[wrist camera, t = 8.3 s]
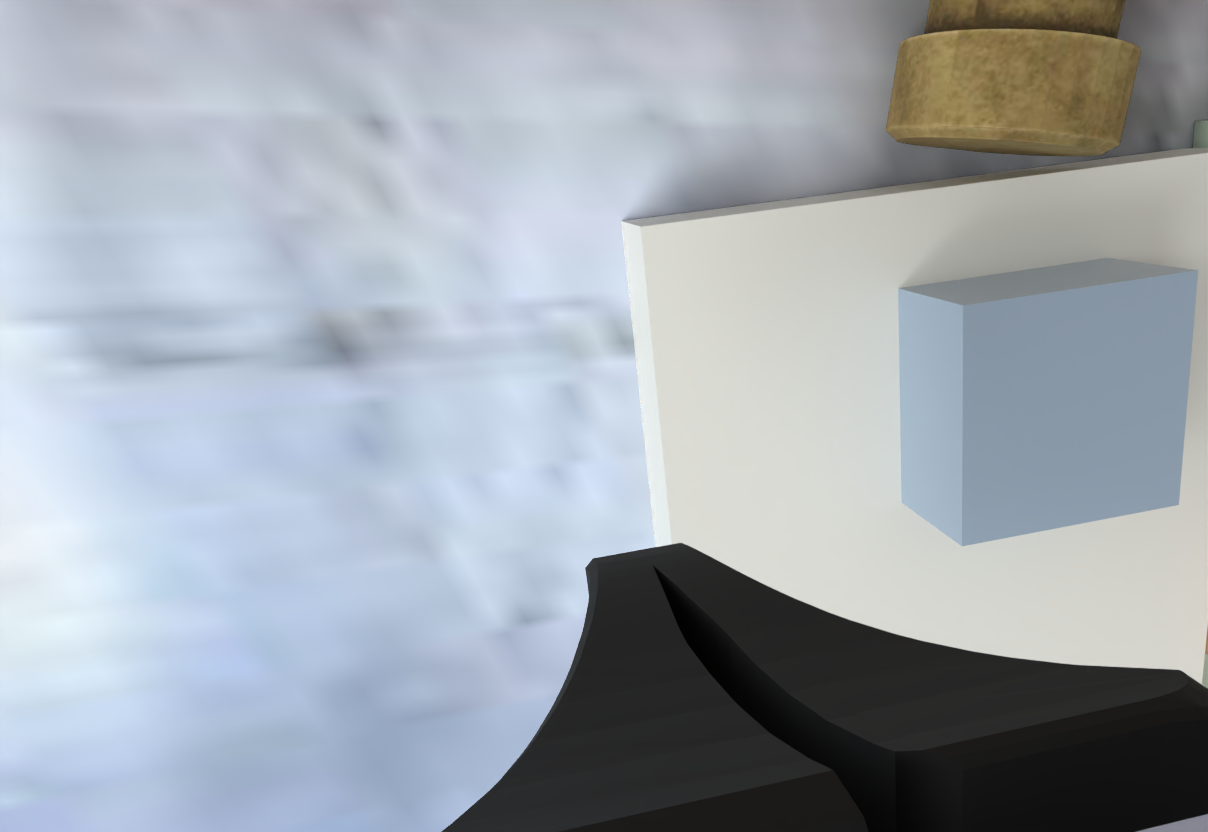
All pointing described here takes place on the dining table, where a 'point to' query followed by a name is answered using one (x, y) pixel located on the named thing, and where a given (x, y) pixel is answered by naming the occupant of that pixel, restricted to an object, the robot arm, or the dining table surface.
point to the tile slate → (1044, 396)
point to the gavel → (1015, 78)
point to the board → (872, 407)
